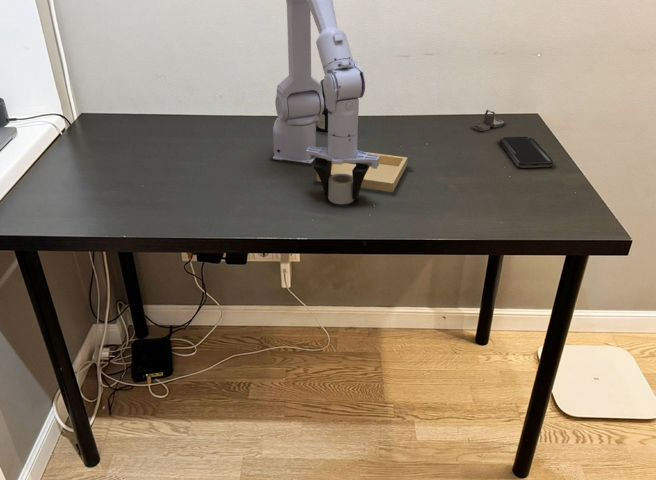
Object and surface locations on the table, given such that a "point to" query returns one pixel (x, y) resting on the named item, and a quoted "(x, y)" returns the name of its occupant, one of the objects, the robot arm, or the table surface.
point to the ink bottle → (323, 116)
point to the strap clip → (489, 122)
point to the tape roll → (340, 188)
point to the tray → (377, 172)
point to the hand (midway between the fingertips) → (341, 195)
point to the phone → (525, 152)
